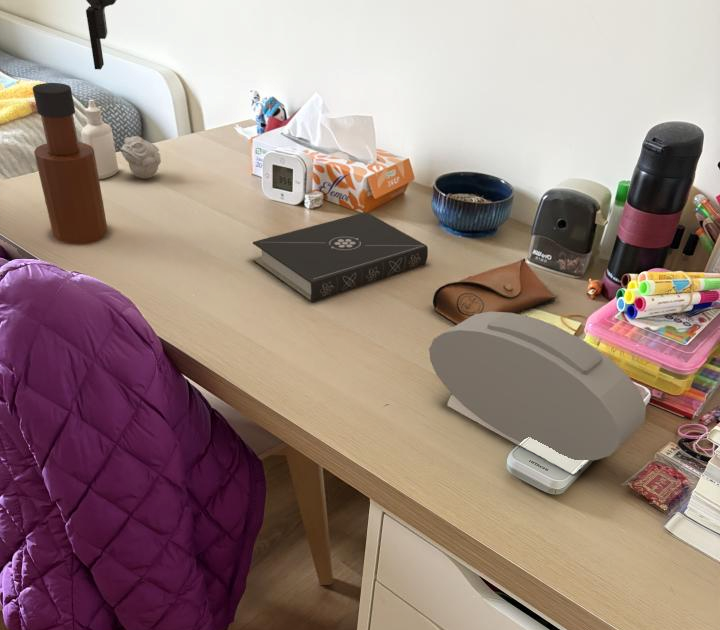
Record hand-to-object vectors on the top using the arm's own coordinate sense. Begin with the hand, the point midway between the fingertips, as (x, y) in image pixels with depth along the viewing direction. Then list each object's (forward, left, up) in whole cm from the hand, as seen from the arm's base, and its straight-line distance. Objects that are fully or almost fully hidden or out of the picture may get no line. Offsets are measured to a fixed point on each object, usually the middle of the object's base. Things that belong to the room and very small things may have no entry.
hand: (45, 64), depth 93 cm
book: (+39, -9, -23) cm, 46 cm away
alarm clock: (+56, -49, -23) cm, 78 cm away
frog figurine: (+7, +23, -23) cm, 33 cm away
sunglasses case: (+60, -21, -23) cm, 68 cm away
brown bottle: (0, 0, -23) cm, 23 cm away
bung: (0, 0, -8) cm, 8 cm away
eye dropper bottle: (0, +24, -23) cm, 33 cm away
